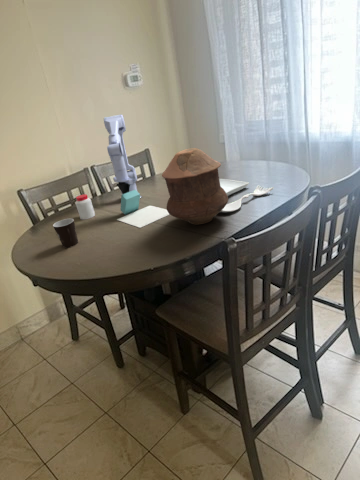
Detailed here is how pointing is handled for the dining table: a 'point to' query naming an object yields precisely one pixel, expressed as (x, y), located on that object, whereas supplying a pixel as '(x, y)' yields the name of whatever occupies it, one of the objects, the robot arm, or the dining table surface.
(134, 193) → the teal slab
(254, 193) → the spoon
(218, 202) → the pottery vessel
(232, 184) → the square plate
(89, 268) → the dining table surface
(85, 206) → the pill bottle
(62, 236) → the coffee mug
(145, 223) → the mat
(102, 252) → the dining table surface
